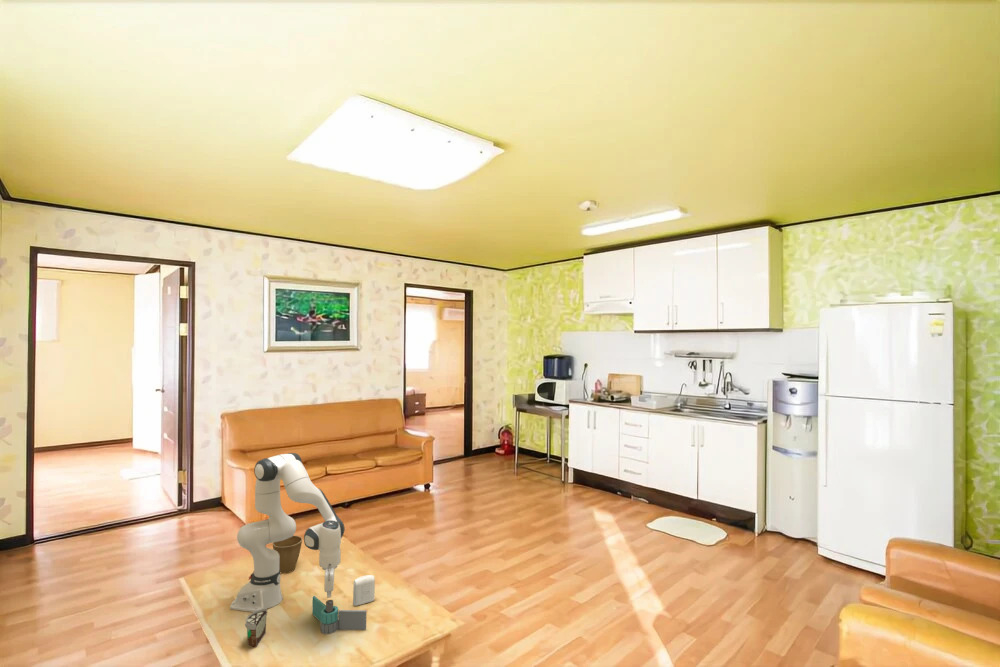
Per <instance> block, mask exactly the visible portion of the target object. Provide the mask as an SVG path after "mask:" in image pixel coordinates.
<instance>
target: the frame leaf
mask: <svg viewBox="0 0 1000 667" xmlns="http://www.w3.org/2000/svg"><path fill="white" fill-rule="evenodd" d="M366 630H367V610H366V609H365V610H364V609H353V610H351V609H338V620H337V621H336V622H334V623H331V624H323V623H322V622H320V633H321V634H323V635H331V634H333V633H336V631H366Z"/></svg>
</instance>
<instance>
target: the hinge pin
mask: <svg viewBox="0 0 1000 667" xmlns="http://www.w3.org/2000/svg"><path fill="white" fill-rule="evenodd" d="M325 605H326V613H331V612H333V606H334V599H327V600H326V601H325Z"/></svg>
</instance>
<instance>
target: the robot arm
mask: <svg viewBox="0 0 1000 667" xmlns="http://www.w3.org/2000/svg"><path fill="white" fill-rule="evenodd" d="M253 472H254V476H255V478H256V479H255V486H254V487H255V488H254V489H255V491H254V508H255V511H256V512H258V513H260V514H263V515H267V516H268V519H265V520H259V521H254V522H249V523H247V524H245V525H242V526H241V527H240V528H239V530H238V531H237V535H236V541H237V543H238V544H239V546H240V547H242V548H243V549H245V550H247V551H248V552H249V553H250V554H251V556H252V559H253V572H252V573H250V576H248V582H247V583H245V584H244V585H243V586H242V587H241V588H240V589H238V590H239V591H238V592H237V595H236V598H234V599H233V601H232V602H231V603H230V610H234V611H243V612H251V613H253V612H255V611H258V610H262V609H267V610H268V609H270V608H273V607H275V606H277V605H278V604H280V603H282V601H283V599H284V598H283V594H282V590H281V583H280V582H281V572H280V568H279V565H280V556H279V553H278V552H277V551H276V550H273V548H269V547H267V545H269V544H273V543H274V542H279V541H283V540H286V539H288V538H290V537H292V536H295V533H296V530H297V523H296V521H295V519H294V518H293V517H291V516H290V515H288V514H287V513H286V512H285V511H284V509H283V507H282V504H281V502H282V501H281V481H282V483H283V487H284V489H285V492H286V494H287V497H288V498H289V499H290V500H291V501H293V502H295V503H300V504H310V505H313V506H314V507H316V508H317V510H318V512H319V513H320V515H321V516H322V518H323V520H324V521H323V522H321V523H317V524H316V525H313V526H311V527H308V528H307V529H306V530H305V532H304V534H303V543H304V545H305V547H306V548H308V549H310V550H313V551H317V550H318V551H319V554H318V555H319V559H318V560H319V564H318V566H319V567H320V568H321V569H322V570H323V571H324V587H323V588H324V593H326V598H329V599H330V598H331V597H332V592H333V591H334V587H335V584H334V583H335V569H337V568H338V566H339V565H340V564H341V560H342V559H341V558H342V556H341V553H342V552H341V542H342V538H343V536H344V533H345V530H346V529H345V528H346V527H345V525H344V522H343V521H342V519H341V518H340V517H339V516H338V515H337V513H336V511H335V510H334V508H333V506H332V504H331V503H330V501H329V500H328V498H327V496H326V494H325V493H324V491H323V490H322V489H321V488H318V487H317V486H316V485H315V484H314V483H313V482H312V480H311V479H310V476H309V474H308V471H307V469H306V468H305V466H304V464H303V462H302V458H301V456H300V455H299V454H298V453H295V452H288V453H281V454H277V455H273V456H269V457H266V458H262V459H260V460H258V461H257V462H256V463H255V465H254V468H253Z"/></svg>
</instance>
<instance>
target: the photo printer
mask: <svg viewBox="0 0 1000 667" xmlns="http://www.w3.org/2000/svg"><path fill="white" fill-rule="evenodd" d="M375 580H376V579H375V575H373V574H367V575H361V576H359V577H357V578H355V579H354V581H353V591H352V593H353V596H352V597H353V598H352V605H353V606H354V607H356V606H360V605H364V604H367V603H372V602H373V601H375V584H376V581H375Z"/></svg>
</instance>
